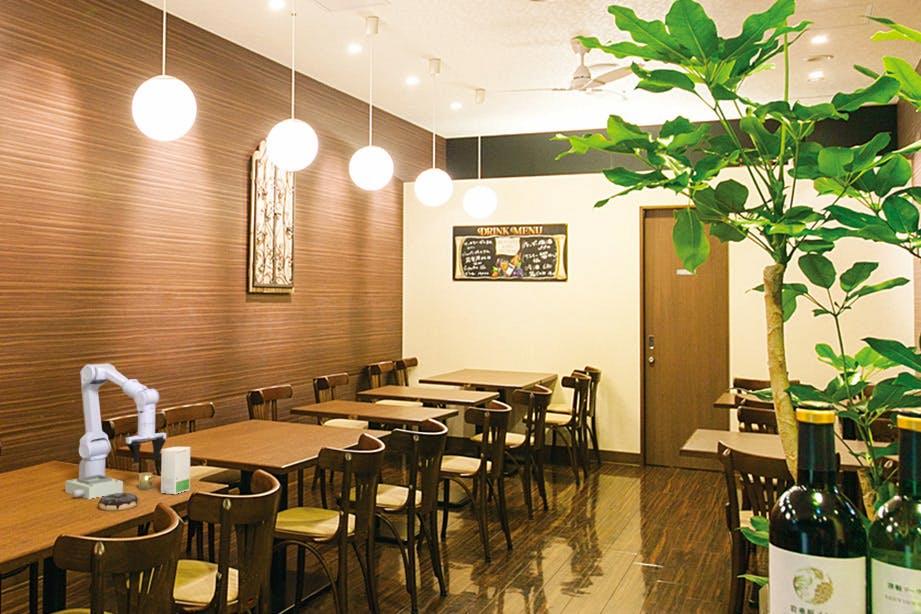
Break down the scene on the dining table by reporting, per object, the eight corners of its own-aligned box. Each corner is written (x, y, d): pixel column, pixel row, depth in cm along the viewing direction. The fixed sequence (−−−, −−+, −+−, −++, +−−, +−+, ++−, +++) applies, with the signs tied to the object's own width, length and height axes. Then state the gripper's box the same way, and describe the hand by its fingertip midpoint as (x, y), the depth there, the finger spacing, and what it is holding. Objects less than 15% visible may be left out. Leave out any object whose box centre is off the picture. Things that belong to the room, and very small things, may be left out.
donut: (110, 502, 244) (110, 490, 244) (145, 503, 244) (145, 491, 244) (91, 511, 233) (92, 499, 233) (127, 512, 233) (128, 500, 233)
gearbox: (56, 493, 254) (56, 479, 254) (98, 486, 267) (99, 472, 267) (80, 501, 245) (80, 486, 245) (122, 492, 257) (123, 478, 257)
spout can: (136, 489, 263) (136, 473, 263) (147, 487, 266) (148, 471, 266) (145, 491, 260) (145, 476, 260) (156, 489, 263) (156, 473, 263)
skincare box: (174, 495, 254) (175, 450, 255) (159, 493, 257) (160, 449, 257) (190, 490, 262) (191, 446, 263) (175, 488, 265) (176, 445, 265)
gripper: (133, 426, 255) (133, 465, 255) (171, 421, 267) (170, 459, 267) (122, 424, 259) (122, 463, 259) (160, 420, 271) (159, 456, 271)
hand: (146, 460), depth 263 cm, fingers open, 7 cm apart
